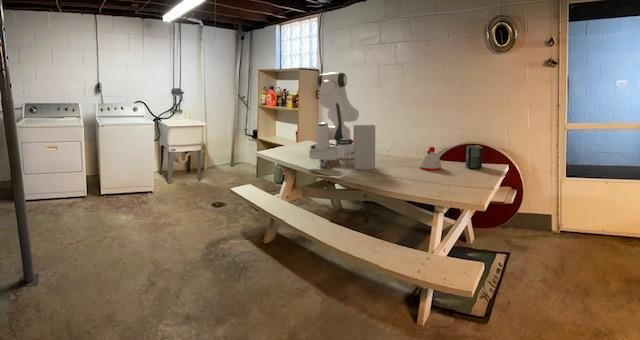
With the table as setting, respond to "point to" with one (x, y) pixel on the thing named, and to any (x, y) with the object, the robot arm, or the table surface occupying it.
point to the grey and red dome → (430, 161)
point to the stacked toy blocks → (332, 163)
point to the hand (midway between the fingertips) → (323, 165)
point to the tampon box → (474, 156)
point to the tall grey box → (364, 147)
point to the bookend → (326, 163)
